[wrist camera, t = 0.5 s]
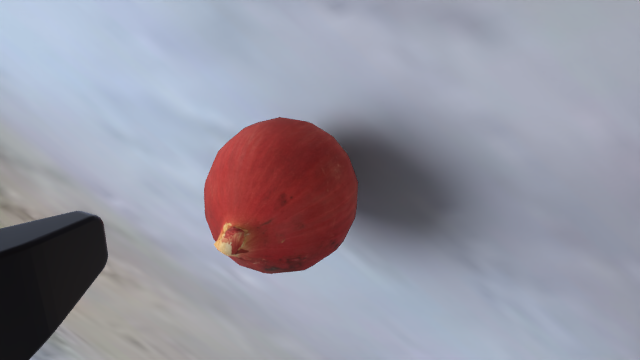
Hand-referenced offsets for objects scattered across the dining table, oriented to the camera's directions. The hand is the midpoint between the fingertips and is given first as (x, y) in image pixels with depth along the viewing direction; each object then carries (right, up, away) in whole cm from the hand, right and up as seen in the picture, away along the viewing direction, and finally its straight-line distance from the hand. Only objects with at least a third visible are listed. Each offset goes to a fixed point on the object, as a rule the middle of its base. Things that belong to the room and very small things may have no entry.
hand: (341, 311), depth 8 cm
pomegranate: (0, +3, +16) cm, 16 cm away
